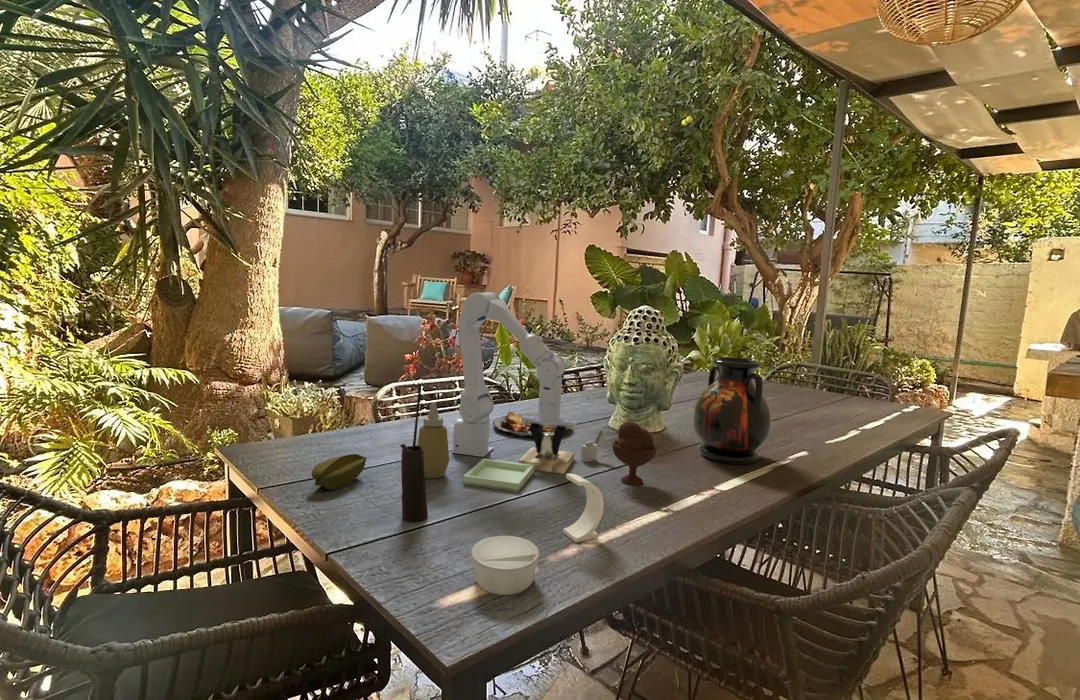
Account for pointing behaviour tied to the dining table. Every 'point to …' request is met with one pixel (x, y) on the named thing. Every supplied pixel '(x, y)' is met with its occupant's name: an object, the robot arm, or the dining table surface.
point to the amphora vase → (732, 413)
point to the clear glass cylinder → (547, 446)
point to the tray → (499, 475)
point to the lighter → (592, 448)
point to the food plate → (518, 424)
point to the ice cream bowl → (633, 450)
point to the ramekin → (504, 564)
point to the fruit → (338, 471)
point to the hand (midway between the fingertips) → (547, 452)
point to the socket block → (548, 461)
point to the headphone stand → (586, 512)
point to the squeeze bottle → (434, 444)
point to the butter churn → (413, 478)
